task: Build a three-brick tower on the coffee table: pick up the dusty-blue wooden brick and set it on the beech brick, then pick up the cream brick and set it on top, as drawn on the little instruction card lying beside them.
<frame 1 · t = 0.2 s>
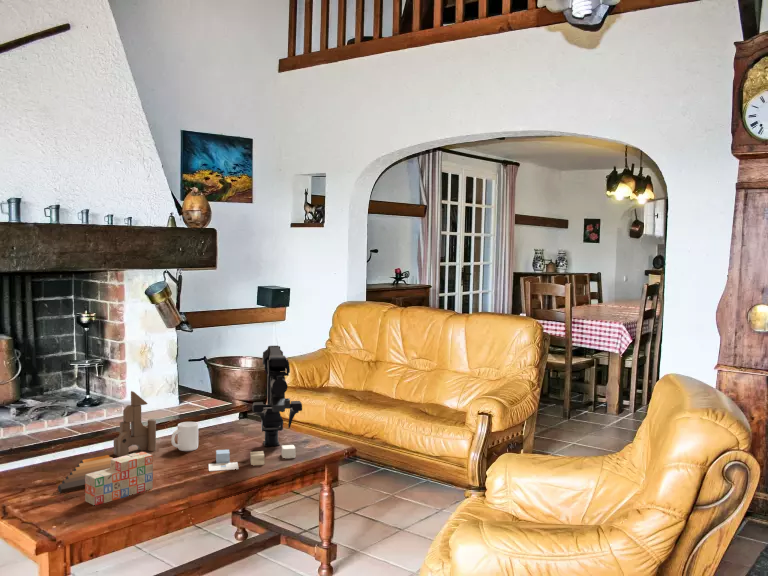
hand: (277, 428, 266), 14 cm above the table, tool pointing down, fingers open, 9 cm apart
beech brick: (257, 463, 268), on the table
stack of blocks: (120, 495, 233), on the table
blue brick: (222, 461, 270), on the table
cream brick: (288, 456, 278), on the table
instruction card: (223, 466, 263), on the table
mug: (184, 449, 284), on the table
pan flute: (85, 478, 250), on the table
wooden toy: (135, 452, 279), on the table
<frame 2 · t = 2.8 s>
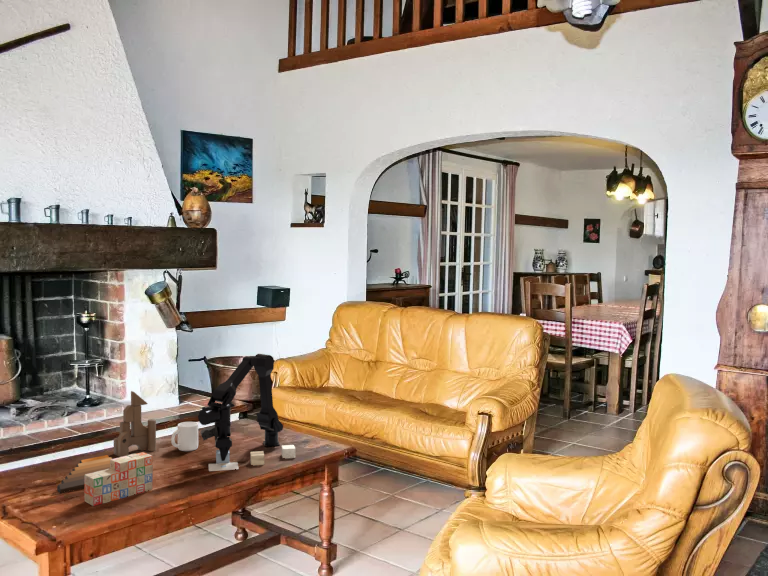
hand: (222, 458, 270), 1 cm above the table, tool pointing down, fingers closed on blue brick, 5 cm apart
blue brick: (222, 461, 270), on the table, touching gripper
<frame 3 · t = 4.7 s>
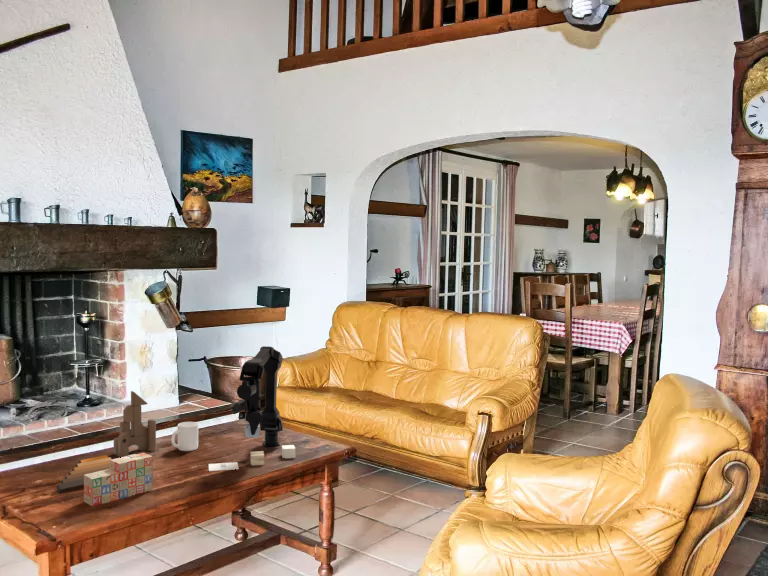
hand: (252, 433, 268), 12 cm above the table, tool pointing down, fingers closed on blue brick, 5 cm apart
blue brick: (252, 435, 268), point 11 cm above the table, touching gripper
when the fingers open (6 cm above the table, at t = 6.3 s): blue brick drops 1 cm, resting on beech brick.
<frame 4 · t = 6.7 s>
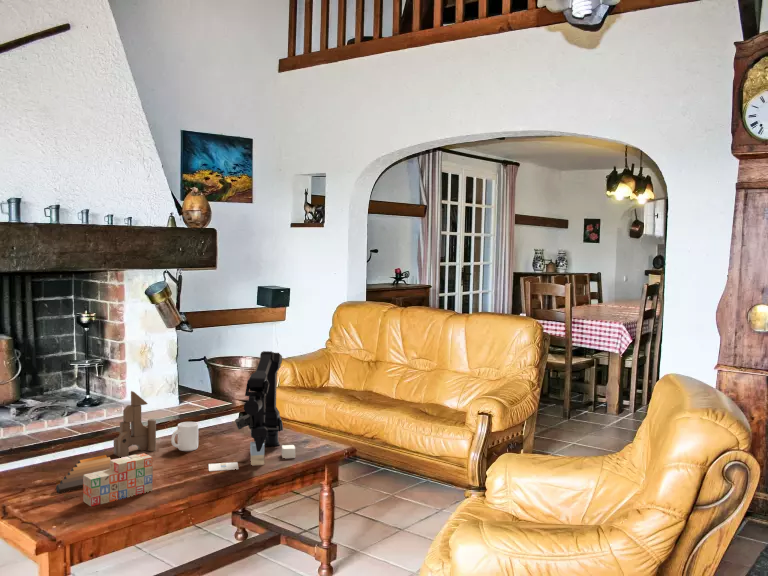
hand: (257, 447, 268), 6 cm above the table, tool pointing down, fingers open, 9 cm apart
beech brick: (257, 463, 268), on the table, touching blue brick
blue brick: (257, 453, 268), point 4 cm above the table, touching beech brick
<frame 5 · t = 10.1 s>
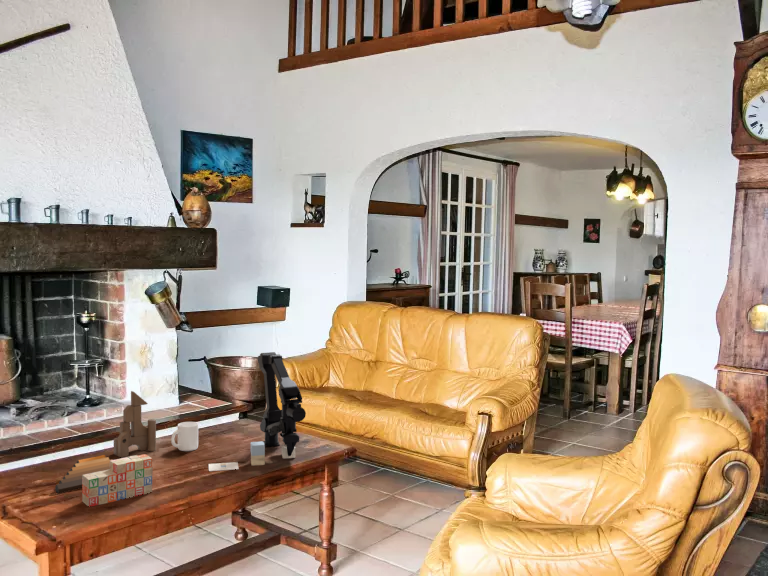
hand: (288, 453, 278), 1 cm above the table, tool pointing down, fingers closed on cream brick, 5 cm apart
cream brick: (288, 456, 278), on the table, touching gripper
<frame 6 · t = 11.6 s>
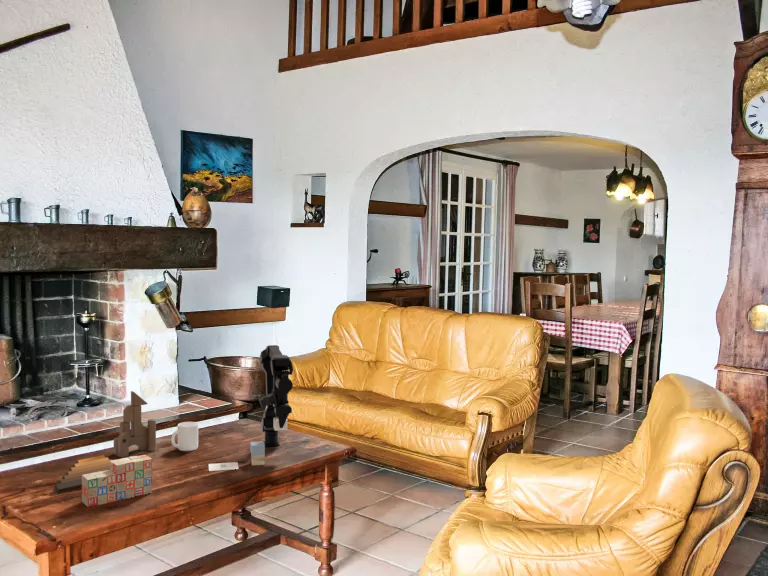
hand: (280, 426, 274), 13 cm above the table, tool pointing down, fingers closed on cream brick, 5 cm apart
cream brick: (280, 428, 274), point 12 cm above the table, touching gripper
when the fingers open (10 cm above the table, at t = 13.2 s): cream brick drops 1 cm, resting on blue brick.
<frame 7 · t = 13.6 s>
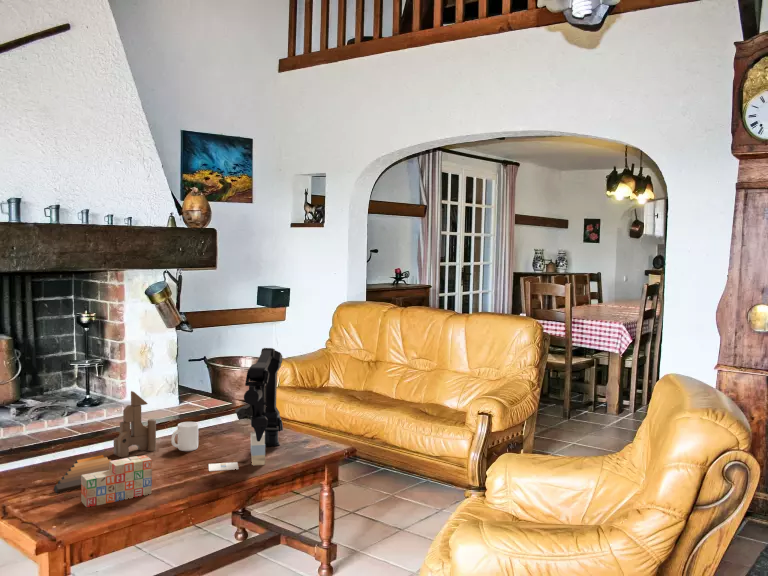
hand: (257, 437, 268), 10 cm above the table, tool pointing down, fingers open, 9 cm apart
blue brick: (257, 453, 268), point 4 cm above the table, touching beech brick, cream brick
cream brick: (257, 443, 268), point 8 cm above the table, touching blue brick
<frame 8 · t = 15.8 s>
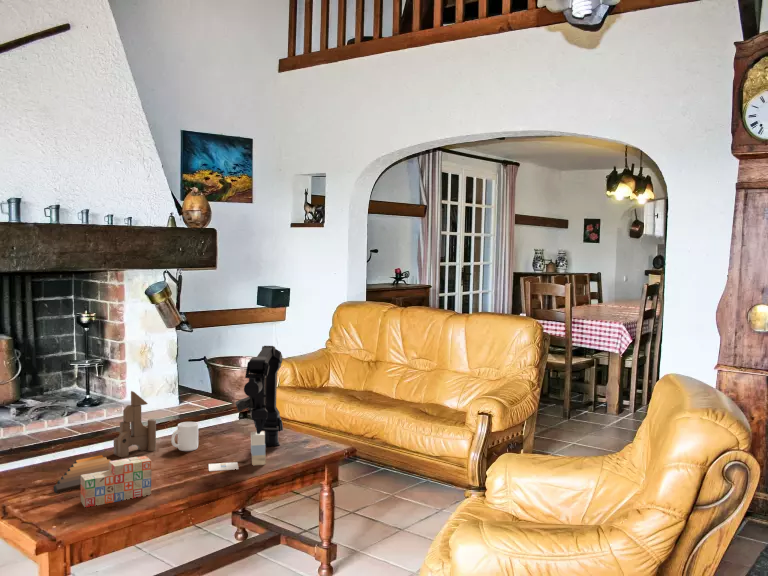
hand: (257, 430, 268), 13 cm above the table, tool pointing down, fingers open, 9 cm apart
at the end: blue brick 0.2 cm off-centre on the beech brick, point 4.0 cm above the beech brick's base; cream brick 0.4 cm off-centre on the beech brick, point 8.0 cm above the beech brick's base; cream brick tilted 0° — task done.
